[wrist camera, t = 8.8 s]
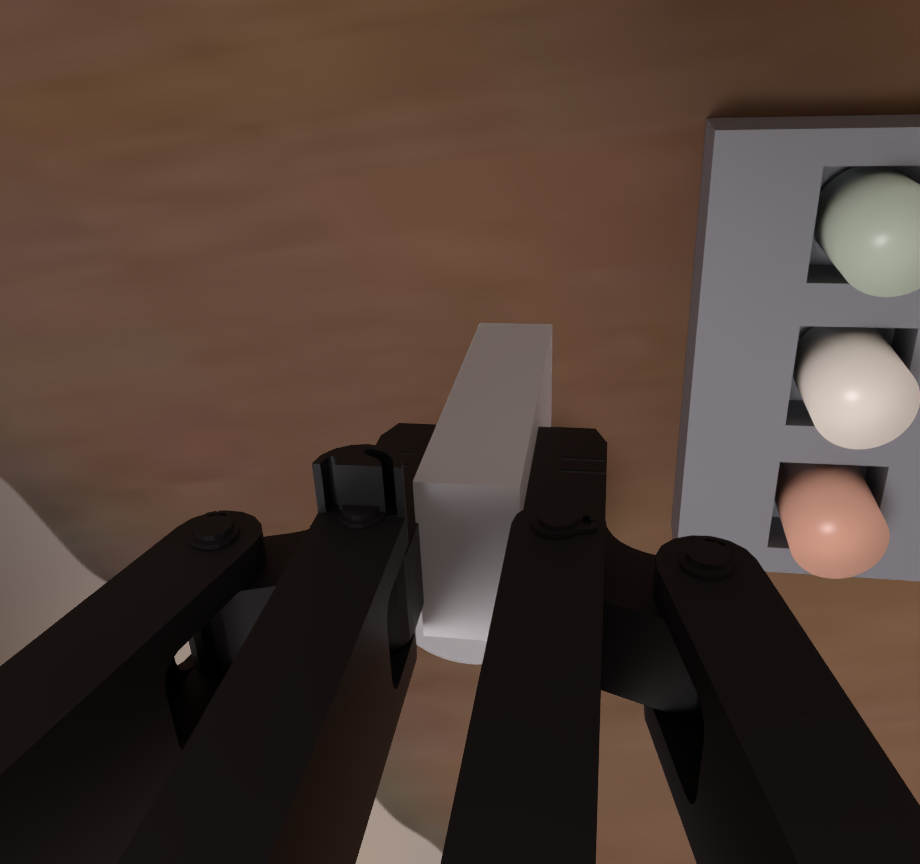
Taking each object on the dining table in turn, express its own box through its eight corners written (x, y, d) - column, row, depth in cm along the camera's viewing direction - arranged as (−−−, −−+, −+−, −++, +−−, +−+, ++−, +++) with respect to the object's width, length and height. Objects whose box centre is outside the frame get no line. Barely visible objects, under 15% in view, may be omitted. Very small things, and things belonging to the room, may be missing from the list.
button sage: (819, 164, 38) (845, 187, 33) (927, 163, 37) (968, 186, 33) (805, 263, 40) (827, 296, 35) (906, 263, 39) (943, 298, 35)
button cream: (797, 316, 41) (818, 355, 37) (895, 318, 40) (929, 358, 36) (784, 400, 43) (803, 447, 39) (878, 404, 42) (909, 451, 38)
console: (706, 118, 39) (715, 130, 36) (1041, 111, 37) (1086, 124, 34) (671, 524, 49) (675, 565, 46) (934, 539, 47) (960, 583, 44)
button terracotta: (778, 447, 44) (795, 497, 40) (869, 450, 43) (898, 502, 39) (767, 519, 46) (783, 575, 42) (854, 524, 45) (880, 581, 41)
